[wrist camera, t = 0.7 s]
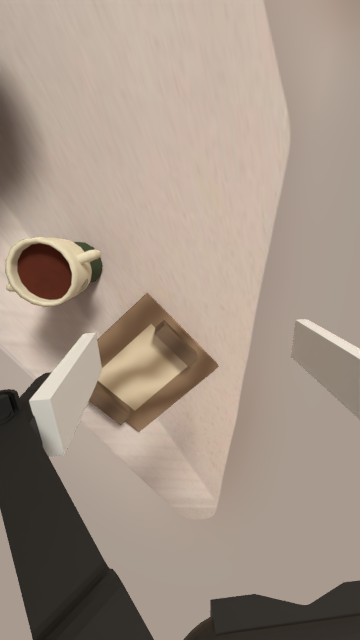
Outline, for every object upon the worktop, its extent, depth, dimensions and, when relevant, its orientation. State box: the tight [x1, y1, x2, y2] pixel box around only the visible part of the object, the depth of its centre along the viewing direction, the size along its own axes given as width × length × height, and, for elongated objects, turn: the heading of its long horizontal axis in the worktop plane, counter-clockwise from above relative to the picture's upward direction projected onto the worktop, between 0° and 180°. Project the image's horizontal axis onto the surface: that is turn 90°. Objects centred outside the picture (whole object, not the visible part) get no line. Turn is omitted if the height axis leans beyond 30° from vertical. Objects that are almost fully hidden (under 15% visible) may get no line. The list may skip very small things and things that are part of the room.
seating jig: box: [89, 293, 219, 431], centre depth 41 cm, size 18×20×4 cm
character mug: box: [5, 237, 103, 307], centre depth 31 cm, size 11×7×13 cm, turn 111°
